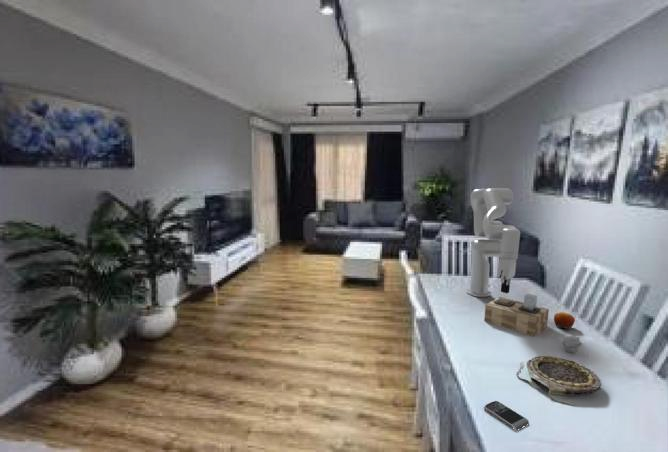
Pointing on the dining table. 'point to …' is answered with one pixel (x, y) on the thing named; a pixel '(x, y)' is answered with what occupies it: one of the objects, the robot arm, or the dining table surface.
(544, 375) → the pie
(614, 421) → the dining table surface
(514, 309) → the oak block
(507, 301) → the walnut peg
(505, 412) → the cell phone
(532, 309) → the grey metal peg
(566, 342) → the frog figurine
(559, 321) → the fruit
